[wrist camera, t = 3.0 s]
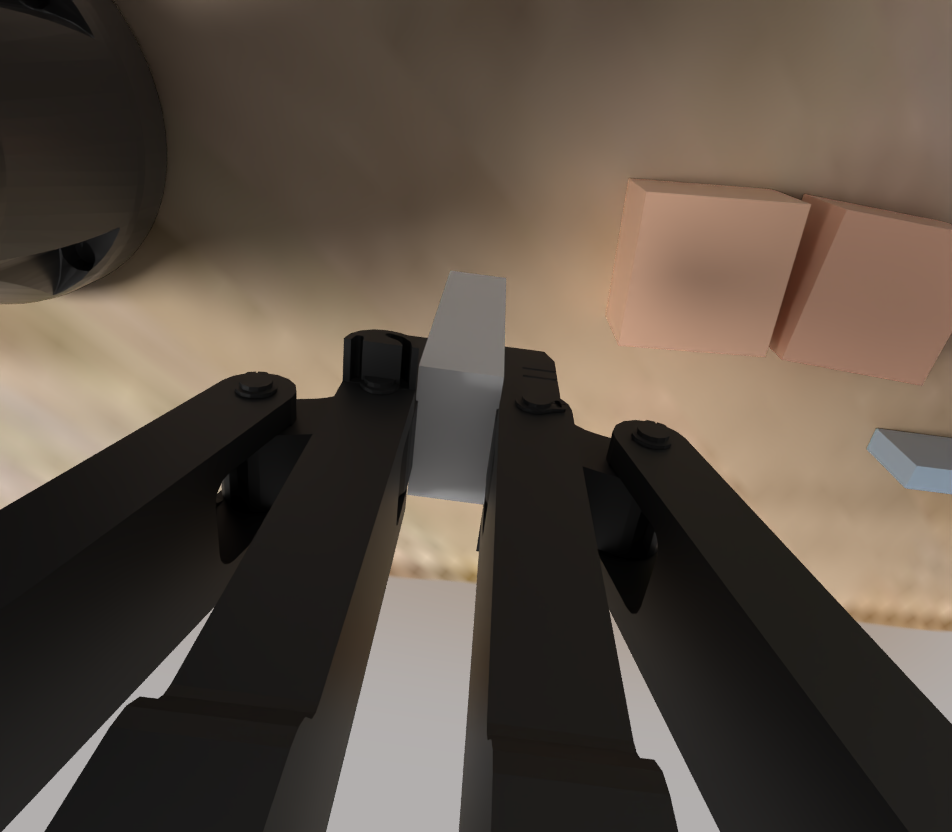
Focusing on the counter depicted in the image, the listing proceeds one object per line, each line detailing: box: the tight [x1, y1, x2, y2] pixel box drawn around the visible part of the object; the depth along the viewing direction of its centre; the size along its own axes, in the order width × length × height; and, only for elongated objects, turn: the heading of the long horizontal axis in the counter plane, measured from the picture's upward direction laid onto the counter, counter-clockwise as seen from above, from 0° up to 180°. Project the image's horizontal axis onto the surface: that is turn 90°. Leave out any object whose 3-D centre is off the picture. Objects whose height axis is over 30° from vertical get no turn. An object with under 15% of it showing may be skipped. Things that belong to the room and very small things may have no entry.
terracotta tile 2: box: [769, 194, 952, 386], centre depth 26 cm, size 6×6×4 cm
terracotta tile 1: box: [605, 178, 811, 357], centre depth 26 cm, size 6×6×4 cm
